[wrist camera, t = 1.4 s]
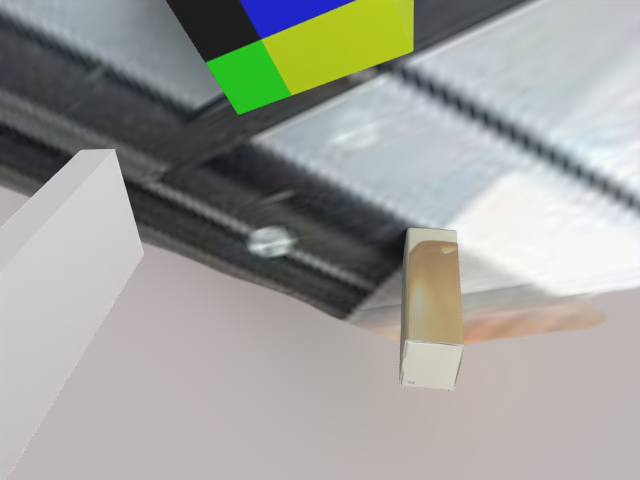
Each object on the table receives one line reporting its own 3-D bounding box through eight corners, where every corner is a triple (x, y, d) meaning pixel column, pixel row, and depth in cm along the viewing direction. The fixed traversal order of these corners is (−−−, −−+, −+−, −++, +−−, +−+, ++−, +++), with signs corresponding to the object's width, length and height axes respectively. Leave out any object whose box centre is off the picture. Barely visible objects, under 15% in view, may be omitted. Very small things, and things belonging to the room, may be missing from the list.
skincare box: (448, 277, 53) (454, 394, 45) (400, 273, 54) (397, 389, 45) (458, 227, 49) (467, 347, 40) (406, 223, 49) (404, 342, 41)
